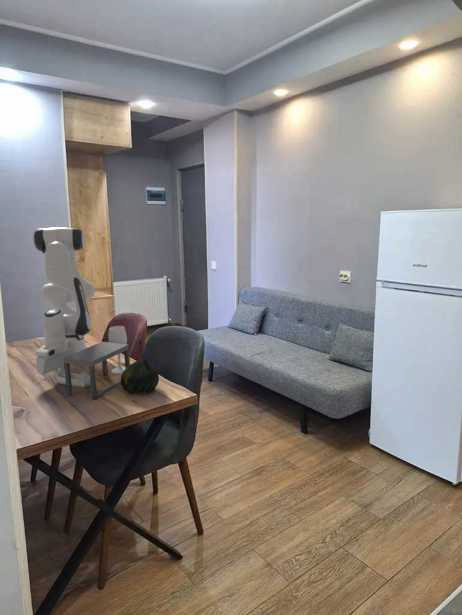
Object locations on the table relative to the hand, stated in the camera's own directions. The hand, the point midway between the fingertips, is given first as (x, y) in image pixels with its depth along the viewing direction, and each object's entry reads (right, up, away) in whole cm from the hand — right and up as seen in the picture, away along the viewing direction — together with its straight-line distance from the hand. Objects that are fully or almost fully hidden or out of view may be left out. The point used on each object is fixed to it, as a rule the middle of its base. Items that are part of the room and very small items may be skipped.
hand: (59, 377), depth 186 cm
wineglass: (+24, +1, +11) cm, 27 cm away
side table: (+21, -3, -8) cm, 22 cm away
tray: (+8, -2, -3) cm, 9 cm away
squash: (+39, -4, -13) cm, 41 cm away
